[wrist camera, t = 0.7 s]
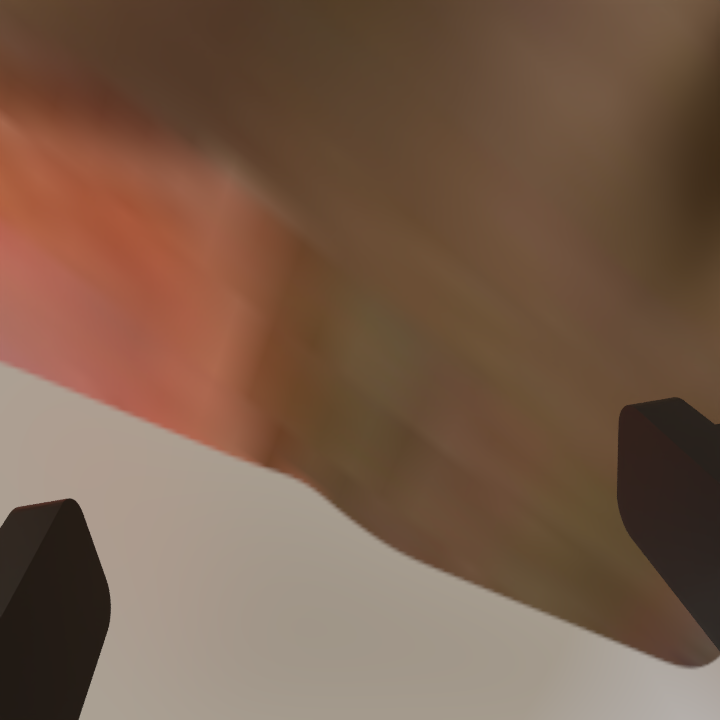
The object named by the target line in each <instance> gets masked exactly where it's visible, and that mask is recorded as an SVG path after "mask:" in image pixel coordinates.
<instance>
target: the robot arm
mask: <svg viewBox="0 0 720 720" xmlns="http://www.w3.org/2000/svg"><path fill="white" fill-rule="evenodd" d="M617 500H618V507H619V511H620V515H621V518H622V521H623V523H624V526H625V528H626V530H627V532H628V534H629V535H630V537H631V538H632V539H633V541H634V542H635V543H636V545H637V546H638V547H639V548H640V550H641V551H642V552H643V554H644V555H645V556H646V557H647V559H648V560H649V561H650V562H651V564H652V565H653V566H654V568H655V569H656V570H657V571H658V573H659V574H660V575H661V577H662V578H663V579H664V580H665V582H666V583H667V584H668V586H669V587H670V588H671V589H672V591H673V592H674V593H675V595H676V596H677V597H678V598H679V600H680V601H681V602H682V603H683V605H684V606H685V607H686V609H687V610H688V611H689V612H690V614H691V615H692V616H693V618H694V619H695V620H696V621H697V623H698V624H699V625H700V627H701V628H702V629H703V630H704V632H705V633H706V634H707V636H708V637H709V638H710V639H711V641H712V642H713V643H714V645H715V646H716V647H717V648H718V650H719V651H720V424H716V425H715V424H714V423H712V422H711V421H710V420H708V419H707V418H706V417H704V416H703V415H702V414H701V413H699V412H698V411H697V410H695V409H694V408H693V407H691V406H690V405H689V404H688V403H686V402H685V401H684V400H682V399H680V398H677V397H673V398H668V399H662V400H656V401H650V402H644V403H638V404H632V405H627V406H625V407H624V408H623V409H622V410H621V413H620V417H619V431H618V473H617ZM110 614H111V603H110V593H109V587H108V583H107V580H106V577H105V575H104V572H103V569H102V566H101V563H100V560H99V557H98V555H97V552H96V549H95V546H94V544H93V540H92V538H91V535H90V532H89V529H88V527H87V523H86V521H85V518H84V515H83V512H82V510H81V508H80V506H79V504H78V503H77V502H76V501H75V500H73V499H63V500H57V501H51V502H45V503H39V504H33V505H27V506H22V507H17V508H15V509H14V510H12V511H11V513H10V514H9V515H8V517H7V519H6V520H5V521H4V523H3V525H2V526H1V528H0V720H79V716H80V713H81V710H82V707H83V704H84V701H85V698H86V695H87V692H88V689H89V686H90V683H91V680H92V677H93V674H94V671H95V668H96V665H97V661H98V659H99V656H100V653H101V649H102V646H103V643H104V640H105V637H106V634H107V631H108V627H109V622H110Z"/></svg>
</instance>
